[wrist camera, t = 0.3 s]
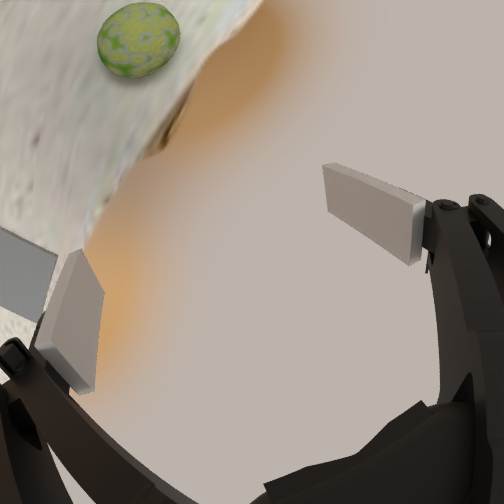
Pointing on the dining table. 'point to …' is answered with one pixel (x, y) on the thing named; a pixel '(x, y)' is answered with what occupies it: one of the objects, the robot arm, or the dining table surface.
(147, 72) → the decorative ball
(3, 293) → the slate board
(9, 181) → the dining table surface
